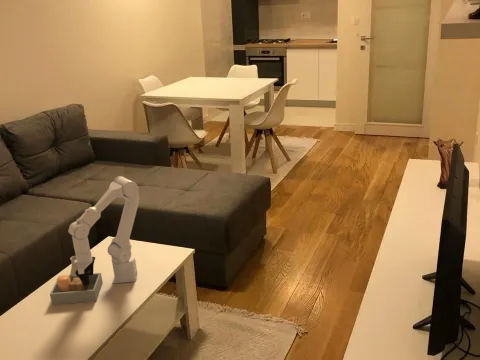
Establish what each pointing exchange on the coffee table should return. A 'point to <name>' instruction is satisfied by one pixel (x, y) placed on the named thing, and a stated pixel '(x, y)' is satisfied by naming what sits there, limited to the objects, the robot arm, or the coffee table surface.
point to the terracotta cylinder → (64, 283)
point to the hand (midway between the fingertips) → (88, 280)
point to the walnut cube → (77, 285)
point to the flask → (73, 265)
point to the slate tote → (78, 292)
